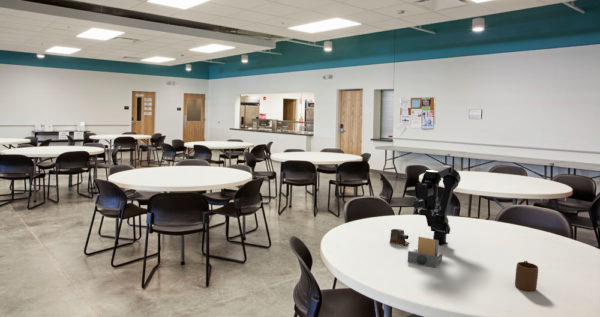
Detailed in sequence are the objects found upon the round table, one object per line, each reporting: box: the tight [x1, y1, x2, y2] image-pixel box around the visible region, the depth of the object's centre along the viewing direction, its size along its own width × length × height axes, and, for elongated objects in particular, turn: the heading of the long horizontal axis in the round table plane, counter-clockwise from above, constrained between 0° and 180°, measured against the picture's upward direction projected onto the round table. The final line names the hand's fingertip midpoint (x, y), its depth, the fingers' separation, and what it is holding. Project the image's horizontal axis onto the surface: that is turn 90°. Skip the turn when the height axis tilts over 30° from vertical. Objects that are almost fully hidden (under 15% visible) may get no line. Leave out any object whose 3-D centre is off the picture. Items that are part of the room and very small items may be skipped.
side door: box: [417, 236, 439, 257], centre depth 192 cm, size 2×9×9 cm, turn 57°
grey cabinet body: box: [407, 248, 443, 269], centre depth 188 cm, size 12×13×5 cm
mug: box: [514, 260, 539, 292], centre depth 164 cm, size 12×8×9 cm, turn 156°
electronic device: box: [389, 228, 411, 247], centre depth 213 cm, size 4×10×8 cm, turn 44°
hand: (429, 226), depth 204 cm, fingers closed
